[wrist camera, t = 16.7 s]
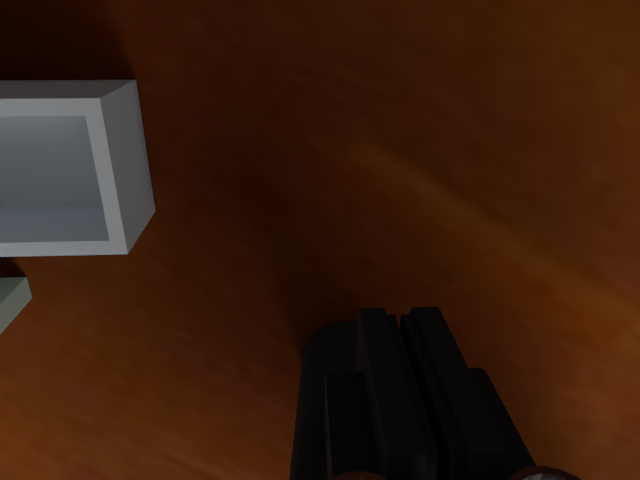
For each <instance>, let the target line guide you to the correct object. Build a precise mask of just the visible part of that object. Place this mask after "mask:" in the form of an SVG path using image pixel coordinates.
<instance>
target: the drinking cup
mask: <svg viewBox="0 0 640 480" xmlns="http://www.w3.org/2000/svg"><path fill="white" fill-rule="evenodd" d="M356 350H357V322H340V323H335V324H331V325H329V326H326V327H324V328H322V329H321V330H319V331H318V332H317V333H315V334H314V335H313V336H312V337H311V338H310V340H309V341H308V343H307V344H306V346H305V349H304V352H303V358H302V367H301V376H300V385H299V395H298V404H297V413H296V422H295V432H294V441H293V450H292V459H291V468H290V478H289V480H328V472H327V454H326V433H325V372H337V371H356Z"/></svg>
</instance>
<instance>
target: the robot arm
mask: <svg viewBox="0 0 640 480" xmlns="http://www.w3.org/2000/svg"><path fill="white" fill-rule="evenodd" d="M325 433H326V454H327V472H328V480H581V479H579V478H578V477H576V476H574V475H572V474H570V473H567V472H565V471H563V470H560V469H556V468H551V467H546V466H536V465H535V463H534V461H533V459H532V457H531V455H530V453H529V451H528V450H527V448H526V446H525V444H524V442H523V440H522V438H521V436H520V435H519V433H518V431H517V429H516V427H515V425H514V423H513V421H512V420H511V418H510V416H509V414H508V412H507V410H506V408H505V406H504V405H503V403H502V401H501V399H500V397H499V395H498V393H497V391H496V390H495V388H494V386H493V384H492V382H491V380H490V378H489V376H488V375H487V373H486V372H485V370H483V369H481V368H468V367H467V365H466V363H465V360H464V358H463V356H462V354H461V352H460V350H459V348H458V346H457V344H456V342H455V340H454V338H453V336H452V334H451V332H450V330H449V328H448V326H447V323H446V321H445V319H444V317H443V315H442V313H441V311H440V309H439V308H438V307H412V308H411V309H410V313H409V314H402V315H401V320H400V329H399V326H398V323H397V320H396V317H395V315H387V314H386V311H385V309H384V308H364V309H358V314H357V350H356V371H337V372H325Z"/></svg>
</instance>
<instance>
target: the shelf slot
mask: <svg viewBox="0 0 640 480" xmlns="http://www.w3.org/2000/svg"><path fill="white" fill-rule="evenodd" d="M31 299H32V295H31V291H30V288H29V284H28V281H27V277H10V278H0V334H1V333H2V332H3V331H4V330H5V329H6V327H7V326H8V325H9V324H10V323H11V322H12V321H13V319H14V318H15V317H16V316H17V315H18V314H19V312H20V311H21V310H22V309H23V308H24V307H25V306H26V304H27V303H28V302H29V301H30V300H31Z"/></svg>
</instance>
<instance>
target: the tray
mask: <svg viewBox="0 0 640 480" xmlns="http://www.w3.org/2000/svg"><path fill="white" fill-rule="evenodd" d="M154 213H155V204H154V198H153V191H152V184H151V177H150V171H149V164H148V157H147V150H146V144H145V137H144V130H143V123H142V116H141V110H140V103H139V96H138V89H137V83H136V80H0V257H19V256H67V255H114V254H128V253H129V252H130V250H131V248H132V247H133V245H134V244H135V242H136V241H137V239H138V238H139V236H140V234H141V233H142V231H143V230H144V228H145V227H146V225H147V224H148V222H149V221H150V219H151V217H152V216H153V214H154Z"/></svg>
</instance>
